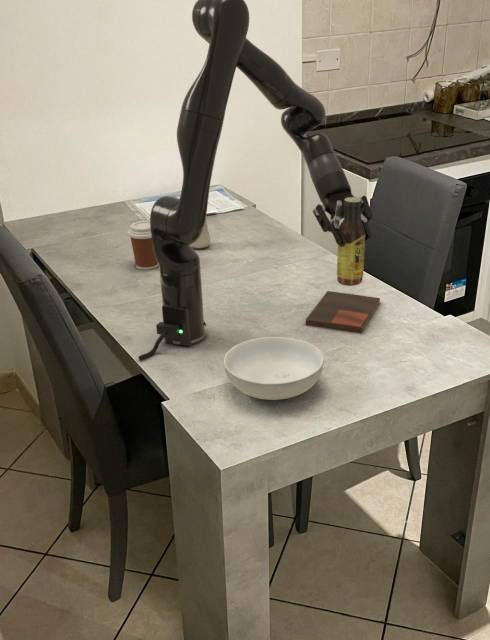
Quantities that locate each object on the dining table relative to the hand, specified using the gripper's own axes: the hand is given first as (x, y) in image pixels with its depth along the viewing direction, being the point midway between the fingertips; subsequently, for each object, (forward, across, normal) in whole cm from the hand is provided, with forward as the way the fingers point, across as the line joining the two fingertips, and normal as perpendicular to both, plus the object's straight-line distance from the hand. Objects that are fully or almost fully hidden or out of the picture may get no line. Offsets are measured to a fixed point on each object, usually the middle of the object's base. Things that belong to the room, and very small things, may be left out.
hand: (355, 242), depth 183 cm
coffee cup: (-29, -28, +60) cm, 72 cm away
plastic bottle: (-33, -9, +64) cm, 72 cm away
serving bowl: (+26, -31, +4) cm, 40 cm away
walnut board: (+10, +2, +20) cm, 23 cm away
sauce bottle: (+6, 0, +9) cm, 11 cm away
